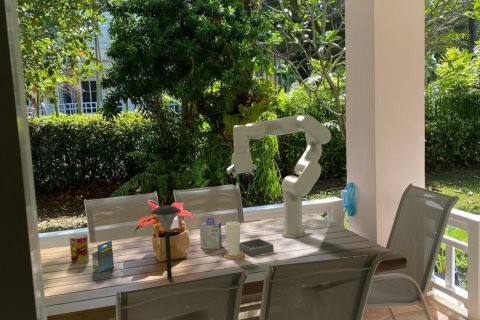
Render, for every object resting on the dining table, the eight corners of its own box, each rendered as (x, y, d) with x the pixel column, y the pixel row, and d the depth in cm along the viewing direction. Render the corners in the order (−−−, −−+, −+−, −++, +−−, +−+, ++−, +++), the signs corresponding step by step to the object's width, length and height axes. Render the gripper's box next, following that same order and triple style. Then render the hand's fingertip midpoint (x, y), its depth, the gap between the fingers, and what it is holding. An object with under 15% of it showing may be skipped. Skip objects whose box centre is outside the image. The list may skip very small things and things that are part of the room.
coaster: (237, 250, 228) (237, 249, 228) (249, 256, 220) (249, 255, 220) (219, 255, 223) (219, 253, 223) (230, 260, 215) (230, 259, 215)
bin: (259, 245, 236) (259, 238, 235) (273, 251, 226) (273, 244, 225) (238, 250, 230) (238, 243, 229) (252, 256, 219) (251, 249, 219)
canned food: (69, 260, 223) (67, 236, 221) (85, 256, 228) (83, 232, 226) (74, 265, 217) (72, 239, 215) (91, 260, 222) (89, 236, 220)
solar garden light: (183, 282, 192) (180, 209, 188) (153, 284, 191) (148, 211, 187) (184, 271, 204) (181, 203, 200) (156, 273, 203) (152, 204, 199)
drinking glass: (226, 252, 224) (224, 222, 222) (240, 251, 225) (239, 221, 223) (227, 257, 218) (225, 225, 216) (241, 256, 218) (240, 224, 216)
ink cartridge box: (222, 245, 237) (221, 217, 235) (219, 249, 232) (218, 220, 230) (203, 245, 239) (202, 217, 237) (200, 248, 234) (199, 220, 232)
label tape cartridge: (108, 265, 215) (106, 239, 213) (114, 266, 213) (112, 240, 211) (92, 271, 207) (90, 244, 206) (99, 273, 205) (97, 245, 204)
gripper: (252, 148, 242) (253, 181, 244) (222, 151, 233) (223, 185, 236) (260, 149, 236) (261, 183, 238) (230, 152, 227) (231, 187, 229)
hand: (242, 184), depth 237 cm, fingers open, 9 cm apart
